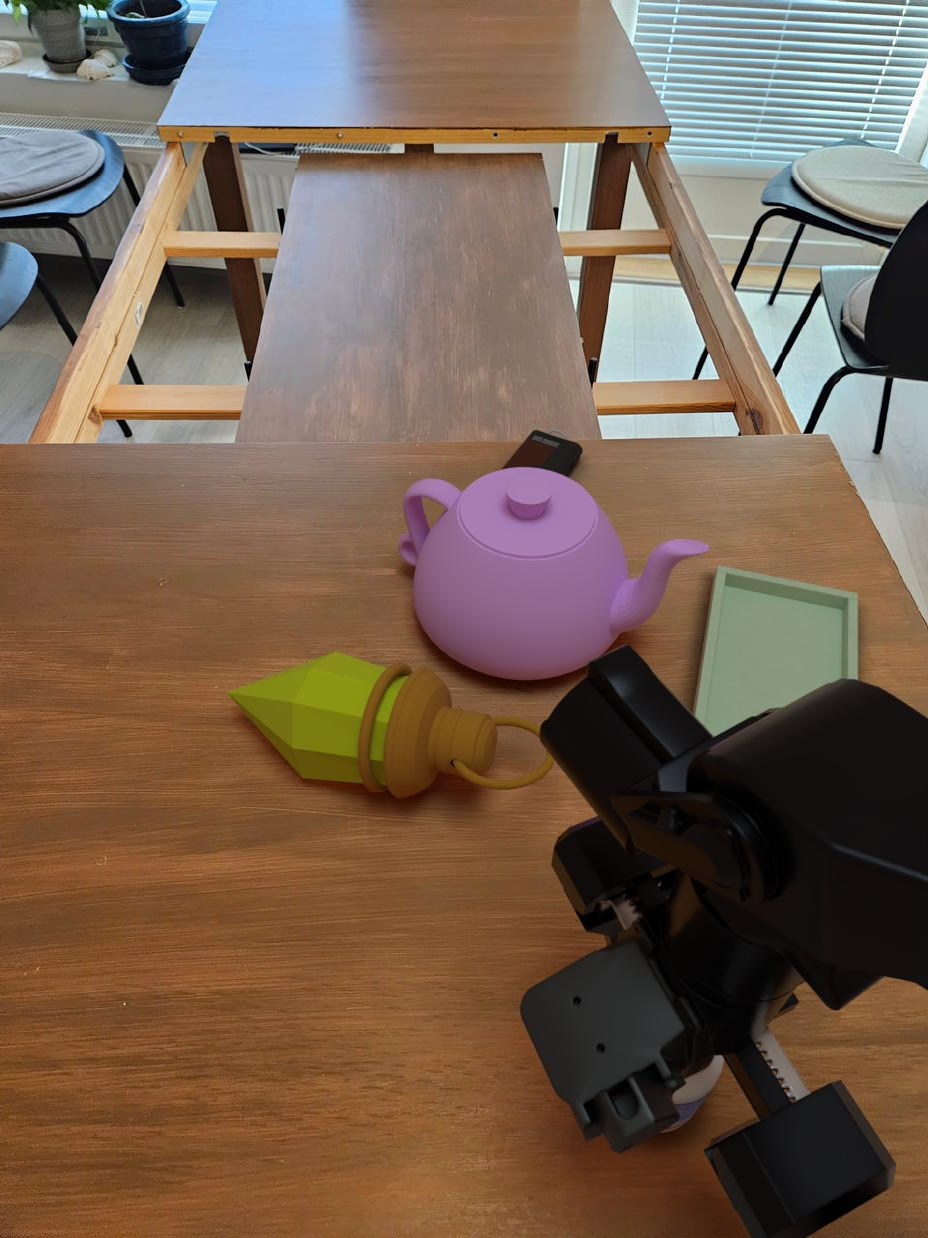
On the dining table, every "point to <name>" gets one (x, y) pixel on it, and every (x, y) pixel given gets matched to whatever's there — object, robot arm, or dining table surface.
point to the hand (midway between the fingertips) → (669, 1052)
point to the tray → (771, 645)
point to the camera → (546, 453)
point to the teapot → (526, 573)
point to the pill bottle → (695, 1091)
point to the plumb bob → (376, 726)
